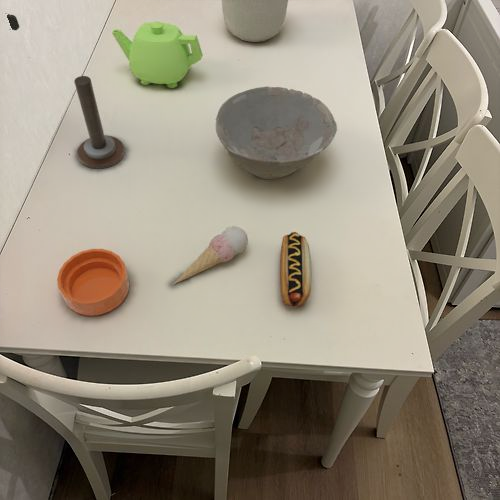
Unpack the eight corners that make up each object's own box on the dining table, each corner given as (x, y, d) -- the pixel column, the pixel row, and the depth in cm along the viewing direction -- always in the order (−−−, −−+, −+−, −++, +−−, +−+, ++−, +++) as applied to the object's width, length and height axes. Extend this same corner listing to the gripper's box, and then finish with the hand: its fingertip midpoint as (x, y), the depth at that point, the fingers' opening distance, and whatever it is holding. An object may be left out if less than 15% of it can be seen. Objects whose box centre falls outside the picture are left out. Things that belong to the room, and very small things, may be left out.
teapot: (112, 86, 112) (101, 34, 102) (129, 56, 120) (120, 4, 110) (197, 97, 111) (194, 44, 101) (208, 65, 119) (206, 14, 109)
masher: (107, 162, 95) (90, 93, 82) (79, 156, 95) (58, 86, 83) (120, 143, 98) (105, 74, 86) (93, 137, 99) (74, 68, 87)
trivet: (82, 172, 94) (80, 169, 93) (75, 143, 99) (74, 140, 98) (128, 163, 96) (127, 159, 95) (119, 135, 101) (119, 131, 100)
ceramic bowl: (193, 170, 96) (190, 129, 88) (257, 113, 108) (259, 73, 100) (288, 220, 89) (294, 180, 81) (345, 153, 101) (356, 113, 93)
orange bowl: (69, 325, 74) (61, 311, 70) (61, 273, 79) (53, 257, 76) (135, 306, 76) (131, 292, 73) (123, 257, 82) (118, 242, 79)
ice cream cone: (181, 297, 81) (251, 245, 84) (181, 295, 77) (255, 240, 80) (164, 274, 81) (234, 223, 84) (163, 271, 77) (238, 217, 80)
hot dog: (307, 248, 85) (311, 230, 81) (309, 314, 77) (314, 297, 73) (279, 246, 85) (281, 228, 81) (278, 312, 77) (281, 295, 73)
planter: (229, 13, 135) (229, -47, 123) (289, 21, 134) (295, -38, 122) (214, 44, 125) (213, -18, 113) (279, 53, 123) (285, -8, 111)
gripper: (-136, 15, 70) (-37, 34, 68) (-71, -25, 79) (19, -9, 77) (-108, 63, 76) (-16, 81, 74) (-50, 21, 85) (33, 37, 83)
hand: (1, 35), depth 76 cm, fingers open, 8 cm apart
